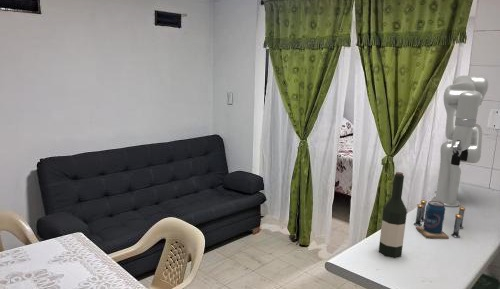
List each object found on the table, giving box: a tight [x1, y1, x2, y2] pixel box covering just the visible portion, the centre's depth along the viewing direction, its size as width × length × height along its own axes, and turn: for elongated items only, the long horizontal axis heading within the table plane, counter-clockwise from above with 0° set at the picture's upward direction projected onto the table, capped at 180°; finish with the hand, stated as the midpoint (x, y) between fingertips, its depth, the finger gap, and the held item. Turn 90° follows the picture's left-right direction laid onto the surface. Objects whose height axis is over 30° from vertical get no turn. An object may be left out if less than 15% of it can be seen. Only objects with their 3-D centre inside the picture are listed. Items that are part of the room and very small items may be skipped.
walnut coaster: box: [415, 226, 450, 240], centre depth 155 cm, size 9×9×1 cm
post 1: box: [413, 203, 423, 227], centre depth 163 cm, size 3×3×9 cm
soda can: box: [422, 200, 446, 234], centre depth 154 cm, size 7×7×12 cm
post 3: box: [450, 213, 462, 239], centre depth 153 cm, size 3×3×9 cm
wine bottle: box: [378, 171, 408, 259], centre depth 135 cm, size 8×8×30 cm
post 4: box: [458, 206, 466, 230], centre depth 162 cm, size 3×3×9 cm
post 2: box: [420, 199, 428, 223], centre depth 168 cm, size 3×3×9 cm
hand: (458, 162), depth 160 cm, fingers open, 9 cm apart
